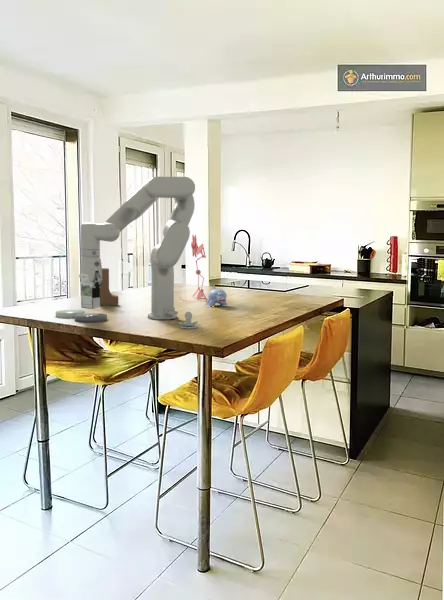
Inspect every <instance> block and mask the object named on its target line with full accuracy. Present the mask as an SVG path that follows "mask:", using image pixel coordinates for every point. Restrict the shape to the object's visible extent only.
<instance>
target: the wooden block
mask: <svg viewBox="0 0 444 600" xmlns="http://www.w3.org/2000/svg"><path fill="white" fill-rule="evenodd" d="M102 279H103V280H102V282H101V285H100V286H101V287H100V307H118V306H119V296H118V295H117V294H113V293H111V291H110V269H109V268H108V267H107V268H106V267H104V268H103V267H102Z"/></svg>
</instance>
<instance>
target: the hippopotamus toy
mask: <svg viewBox="0 0 444 600" xmlns="http://www.w3.org/2000/svg"><path fill="white" fill-rule="evenodd" d="M212 287H213V289H211V290H210V291H209V292H208V296H207V297H208V299H207V300H206V303H205V304H204V306H206V305H208V306H215V305H216V304H218V305H219V304H220V305H219V306H221V307H223V306H229V304H228V303H227V293H226V291H225V290H223V289H221V288H216V287H215V285H212ZM208 306H207V307H208Z"/></svg>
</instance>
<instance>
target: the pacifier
mask: <svg viewBox="0 0 444 600" xmlns="http://www.w3.org/2000/svg"><path fill="white" fill-rule="evenodd" d="M184 318H185V322H181V321H178V323H179V324H180V328H181V329H186V330H187V329H190V330H192V329H196V328H197V326H196V325H197V324H198V321H193V322H192V318H193V314H192V312H191V311H186V312H185V313H184Z"/></svg>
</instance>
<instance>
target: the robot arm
mask: <svg viewBox="0 0 444 600" xmlns="http://www.w3.org/2000/svg"><path fill="white" fill-rule="evenodd" d="M195 191H196V184H195V182H194V180H193V179H192V178H190V177H187V176H153V177H150V178H148V179H147V180H146V181H145V182H144V183H143V184H142V185H141V186H140V187H139V188H138V189H137V190H135V192H133V194H132V195H131V196H129V197H128V198H127V200H126V201H124V202H123V203H122V204H121V206H120V207H119V208H118V209H116V211H114V213H112V215H110V216H109V218H107V219H106V220H105V222H103V223H95V222H83V223H81V225H80V257H81V260H80V268H79V269H80V270H79V271H80V273H79V275H78V278H79V282H81V273H86V274H88V278H89V281H90V282H92V285H93V288H92V298H99V297H100V287H101V286H100V285H101V282H102V280H103V279H102V268H103V267H102V260H101V242H103V241H104V242H111V243H113V242H115V241H116V240H118V239H119V237H120V234H121V232H122V231H123V230H124V229H125V228H127V226H129V225H130V224H131V223H132V222H133V221H136V220H137V219H139V218H140V217H141V216H142V215H143V214H145V213H146V212H147V210H149V209H150V207H151V206H152V205H154V204H155V203H156V202H157V201H158V200H159V199H160V198H161V199H174V206H173V208H172V210H171V214H170V215H169V217H168V220H167V222H166V224H165V225H164V228H163V231H162V233H163V239H162V241H161V243H158V244H156V245H154V247H153V248H152V250H151V252H150V268H151V296H150V297H151V300H150V301H151V307H150V308H151V310H150V311H151V313H148V314H147V318H148V319H152V320H160V321H161V320H174V319H177V318H178V314H179V312H178V311H176V310H175V309H176V308H175V306H174V305H175V304H174V303H175V299H174V298H175V294H174V293H175V270H174V269H175V268H174V266H176V264H178V262H179V260H180V259H181V256H182V254H183V252H184V250H185V248H186V246H187V244H188V241H189V240H190V235H191V229H190V227H189V225H190V222H191V219H192V217H193V214H194V212H195V198H194V193H195ZM94 278H95V280H94ZM95 283H96V284H95Z"/></svg>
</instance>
